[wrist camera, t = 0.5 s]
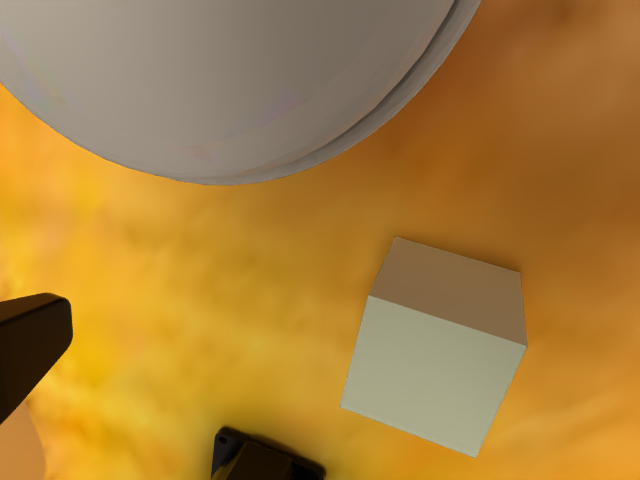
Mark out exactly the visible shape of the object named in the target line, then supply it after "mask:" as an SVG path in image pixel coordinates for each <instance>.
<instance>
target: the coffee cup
mask: <svg viewBox="0 0 640 480" xmlns="http://www.w3.org/2000/svg"><path fill="white" fill-rule="evenodd" d="M481 1H482V0H0V82H1V83H2V85H3V86H4V87H5V88H6V89H7V90H8V91H9V92H10V93H11V94H12V95H13V96H14V97H16V98H17V99H18V100H19V101H20V102H21V103H22V104H23V105H24V106H25V107H26V108H27V109H28V110H29V111H30V112H31V113H32V114H34V115H35V116H36V117H38V118H39V119H41V120H42V121H43V122H45V123H46V124H47V125H49V126H50V127H51V128H53V129H54V130H55V131H57V132H58V133H60V134H61V135H63V136H64V137H66V138H67V139H69V140H70V141H72V142H74V143H75V144H77V145H78V146H80V147H82V148H84V149H86V150H88V151H90V152H92V153H94V154H96V155H98V156H100V157H102V158H104V159H106V160H109V161H112V162H114V163H117V164H119V165H122V166H125V167H127V168H130V169H134V170H137V171H141V172H145V173H149V174H152V175H156V176H162V177H166V178H170V179H174V180H177V181H183V182H190V183H197V184H204V185H240V184H251V183H260V182H264V181H269V180H273V179H278V178H282V177H286V176H289V175H292V174H295V173H298V172H301V171H304V170H307V169H309V168H312V167H315V166H317V165H319V164H321V163H323V162H325V161H327V160H329V159H331V158H334V157H336V156H338V155H340V154H342V153H343V152H345V151H347V150H348V149H350V148H351V147H353V146H355V145H356V144H358V143H359V142H361V141H362V140H364V139H366V138H367V137H369V136H370V135H371V134H372V133H374V132H375V131H376V130H378V129H379V128H380V127H381V126H383V125H384V124H385V123H386V122H388V121H389V120H390V119H391V118H393V117H394V116H395V115H396V114H397V113H398V112H399V111H400V110H401V109H402V108H403V107H404V106H405V105H406V104H407V103H408V102H409V101H410V100H411V99H412V98H413V97H414V96H415V95H416V94H417V93H418V92H419V91H420V90H421V89H422V88H423V87H424V85H425V84H426V83H427V82H428V81H429V79H430V78H431V77H432V76H433V75H434V73H435V72H436V71H437V70H438V68H439V67H440V66H441V65H442V64H443V62H444V61H445V60H446V58H447V57H448V55H449V54H450V52H451V51H452V49H453V48H454V46H455V45H456V43H457V42H458V40H459V39H460V37H461V36H462V34H463V33H464V31H465V30H466V28H467V27H468V25H469V23H470V22H471V20H472V18H473V16H474V14H475V12H476V10H477V9H478V7H479V5H480V3H481Z"/></svg>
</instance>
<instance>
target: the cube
mask: <svg viewBox="0 0 640 480" xmlns="http://www.w3.org/2000/svg"><path fill="white" fill-rule="evenodd" d="M527 347H528V346H527V336H526V326H525V316H524V306H523V296H522V286H521V276H520V272H516V271H513V270H509V269H506V268H502V267H499V266H496V265H492V264H489V263H485V262H482V261H479V260H475V259H472V258H468V257H465V256H461V255H458V254H455V253H451V252H448V251H444V250H441V249H438V248H434V247H431V246H427V245H424V244H420V243H417V242H414V241H410V240H407V239H403V238H400V237H397V236H395V238H394V240H393V242H392V244H391V247H390V249H389V251H388V253H387V255H386V257H385V260H384V262H383V264H382V266H381V268H380V271H379V273H378V275H377V277H376V279H375V281H374V284H373V286H372V288H371V290H370V292H369V294H368V298H367V302H366V306H365V310H364V313H363V317H362V321H361V325H360V329H359V333H358V337H357V341H356V345H355V349H354V352H353V356H352V360H351V364H350V368H349V372H348V376H347V380H346V384H345V388H344V391H343V395H342V399H341V403H340V407H341V408H344V409H346V410H349V411H352V412H354V413H357V414H359V415H362V416H365V417H367V418H370V419H373V420H375V421H378V422H381V423H383V424H386V425H389V426H391V427H394V428H397V429H399V430H402V431H405V432H407V433H410V434H413V435H415V436H418V437H420V438H423V439H426V440H428V441H431V442H434V443H436V444H439V445H442V446H444V447H447V448H450V449H452V450H455V451H458V452H460V453H463V454H466V455H468V456H471V457H474V458H476V457H477V454H478V452H479V450H480V448H481V446H482V444H483V441H484V439H485V437H486V435H487V433H488V431H489V429H490V426H491V424H492V422H493V420H494V418H495V416H496V413H497V411H498V409H499V407H500V405H501V403H502V400H503V398H504V396H505V394H506V392H507V390H508V388H509V385H510V383H511V381H512V379H513V377H514V375H515V372H516V370H517V368H518V366H519V364H520V362H521V359H522V357H523V355H524V353H525V351H526V349H527Z"/></svg>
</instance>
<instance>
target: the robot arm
mask: <svg viewBox="0 0 640 480" xmlns="http://www.w3.org/2000/svg"><path fill="white" fill-rule="evenodd" d="M72 338H73V327H72V313H71V304H70V302H69V300H67V299H66V298H64V297H61V296H58V295H55V294H52V293H41V294H36V295H31V296H26V297H21V298H17V299H12V300H7V301H2V302H0V425H1V424H2V423H3V422H4V421H5V420H6V419H7V418H8V417H9V416H10V415H11V413H12V412H13V411H14V410H15V409H16V408H17V407H18V406H19V405H20V403H21V402H22V401H23V400H24V399H25V398H26V397H27V395H28V394H29V393H30V392H31V391H32V390H33V388H34V387H35V386H36V385H37V384H38V383H39V381H40V380H41V379H42V378H43V377H44V376H45V374H46V373H47V372H48V371H49V370H50V369H51V367H52V366H53V365H54V364H55V363H56V362H57V360H58V359H59V358H60V357H61V356H62V355H63V354H64V352H65V351H66V350H67V349H68V347H69V346H70V344H71V341H72ZM325 476H326V473H325V471H324V470H323V469H322V468H321V467H319V466H317V465H315V464H312V463H310V462H307V461H305V460H302V459H300V458H297V457H295V456H293V455H290V454H288V453H285V452H283V451H280V450H278V449H275V448H273V447H270V446H268V445H266V444H263V443H261V442H258V441H256V440H253V439H251V438H248V437H246V436H243V435H241V434H239V433H236V432H234V431H231V430H229V429H226V428H221V429H220V430H219V431H218V432H217V434H216V436H215V442H214V452H213V462H212V472H211V480H325Z"/></svg>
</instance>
